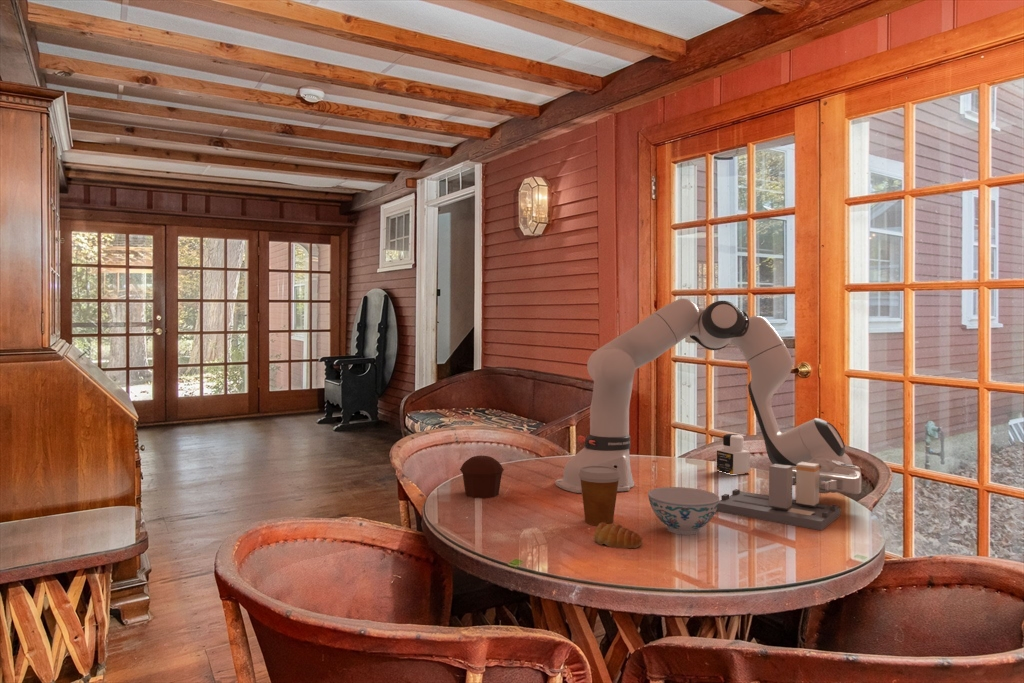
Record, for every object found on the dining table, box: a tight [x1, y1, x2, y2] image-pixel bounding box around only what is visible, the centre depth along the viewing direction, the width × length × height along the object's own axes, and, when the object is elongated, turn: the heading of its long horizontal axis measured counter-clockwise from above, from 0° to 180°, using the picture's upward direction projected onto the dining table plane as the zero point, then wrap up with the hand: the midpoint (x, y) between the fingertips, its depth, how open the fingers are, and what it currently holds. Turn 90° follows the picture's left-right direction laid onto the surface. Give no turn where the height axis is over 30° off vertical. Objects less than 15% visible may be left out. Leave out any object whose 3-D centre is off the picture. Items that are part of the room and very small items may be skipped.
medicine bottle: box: [716, 433, 751, 474], centre depth 201 cm, size 7×7×12 cm
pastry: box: [593, 522, 643, 549], centre depth 131 cm, size 9×7×4 cm
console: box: [716, 488, 841, 531], centre depth 155 cm, size 24×16×3 cm, turn 50°
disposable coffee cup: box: [578, 466, 621, 527], centre depth 146 cm, size 10×10×12 cm
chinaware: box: [647, 486, 720, 536], centre depth 140 cm, size 15×15×8 cm
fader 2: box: [795, 462, 820, 508], centre depth 153 cm, size 4×4×10 cm
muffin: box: [459, 455, 505, 499], centre depth 171 cm, size 12×11×10 cm
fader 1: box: [768, 464, 793, 510], centre depth 150 cm, size 4×4×10 cm
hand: (806, 483), depth 152 cm, fingers open, 6 cm apart
